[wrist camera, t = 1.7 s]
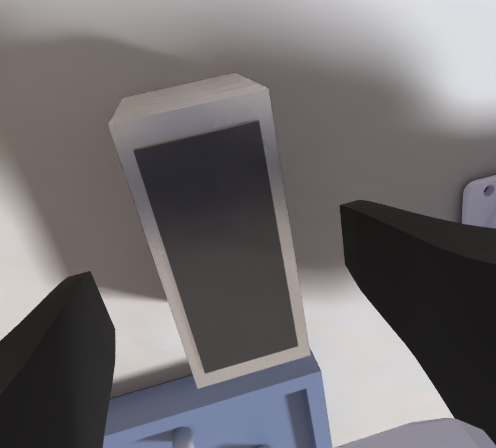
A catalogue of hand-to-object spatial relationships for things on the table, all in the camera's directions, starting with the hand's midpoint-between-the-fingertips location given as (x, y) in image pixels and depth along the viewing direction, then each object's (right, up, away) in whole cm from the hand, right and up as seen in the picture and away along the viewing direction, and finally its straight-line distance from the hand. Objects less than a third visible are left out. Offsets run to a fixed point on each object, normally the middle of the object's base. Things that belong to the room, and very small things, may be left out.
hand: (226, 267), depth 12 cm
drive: (-1, +2, +5) cm, 5 cm away
